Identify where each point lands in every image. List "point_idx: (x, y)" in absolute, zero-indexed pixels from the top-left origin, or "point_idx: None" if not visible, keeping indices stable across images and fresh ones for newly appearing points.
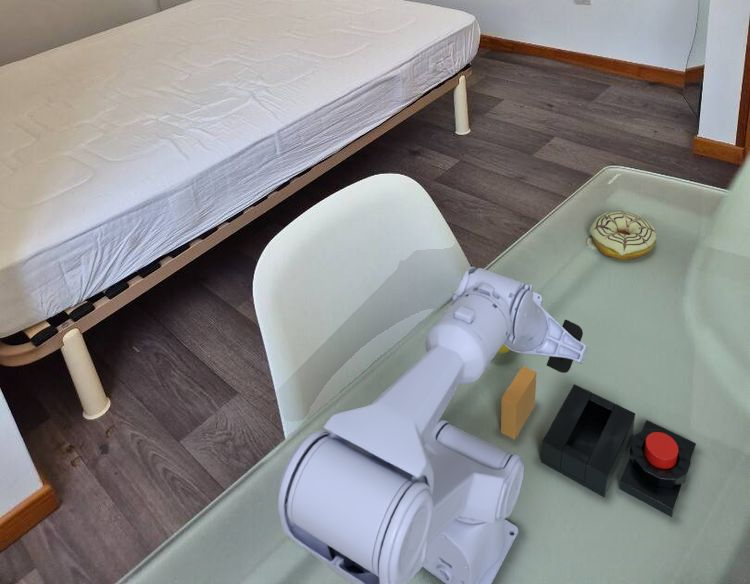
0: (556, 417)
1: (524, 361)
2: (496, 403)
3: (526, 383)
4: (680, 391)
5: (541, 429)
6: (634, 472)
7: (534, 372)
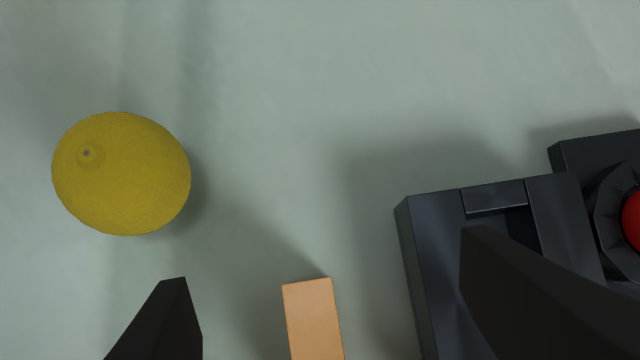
0: (434, 330)
1: (230, 175)
2: (249, 336)
3: (332, 339)
4: (548, 12)
5: (378, 322)
6: (621, 291)
7: (325, 281)
